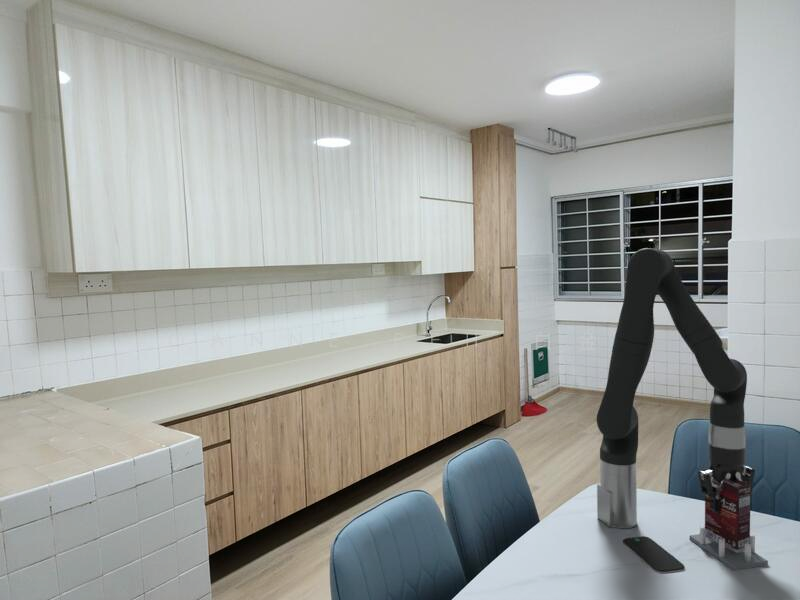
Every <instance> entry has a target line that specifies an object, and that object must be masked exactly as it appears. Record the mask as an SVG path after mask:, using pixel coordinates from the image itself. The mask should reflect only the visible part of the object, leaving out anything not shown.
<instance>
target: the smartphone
mask: <svg viewBox="0 0 800 600" xmlns="http://www.w3.org/2000/svg"><path fill="white" fill-rule="evenodd" d="M622 544H623V545H625V546H626V547H627V549H629V550H630V551H631V552H633V554H635V555H636V556H637V557H638V558H639V559H640V560H641V561H643V562H644V563H645V565H647V566H648V567H649V568H650V569H651V570H653V571H654V572H657V573H659V574H668V573H676V572H682V571H685V569H686V568H685V565H684V564H683V563H682V562H681V561H679V559H677V558H676V557H675V556H673V555H672V554H671V553H670V552H668V551H667V550H665V548H664V547H662V546H661V545H659V544H658V543H657V542H656V541H655V540H653V539H652V538H650V537H649V536H644V535H643V536H633V537H627V538H623V540H622Z"/></svg>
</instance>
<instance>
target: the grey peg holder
mask: <svg viewBox="0 0 800 600" xmlns="http://www.w3.org/2000/svg"><path fill="white" fill-rule="evenodd" d="M689 540H690V541H691V542H693V543H695V544H696V545H697V546H698V547H700V548H702V549H703V550H705V551H706V552H707V553H709V554H710V555H711V556H713V557H715V558H716V559H717V560H719V561H720V562H722V563H723V564H725V565H726V566H727V567H729V568H730V569H732V570H733V571H736V570H743V569H749V568H756V567H757V568H758V567H761V566H762V567H763V566H768V565H769V560H768V559H766V558H764V557H763V556H762V555H760V554H758V553H756V535H755V534H752V533H750V544H749V543H745V550H744V551H741V552H738V553H736V552H734V551H733V550H731V549H729V548H727V547H725V540H724V539H721V538H720V539H719V543H717V542H715V541H713V540H711V539H709V538H707V537H706V528H705V526H704V525H703V526H699V533H697V534H692V535H689Z"/></svg>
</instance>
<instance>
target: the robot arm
mask: <svg viewBox="0 0 800 600" xmlns="http://www.w3.org/2000/svg"><path fill="white" fill-rule="evenodd" d="M676 268H677V267H676V265H675V263H674V262H673V260H672V257H671V256H670V255H669V254H668V253H667V252H666V251H664V250H662V249H659V248H651V247H649V248H648V247H645V248H641V249H638V250H637V251H636V252H634V253H633V254H632V255H631V257H630V258H629V260H628V263H627V268H626V280H625V291H624V298H623V303H622V306H621V311H620V314H619V317H618V318H619V319H618V323H617V327H616V330H615V335H614V340H613V344H612V350H611V354H610V355H611V357H610V361H609V365H608V366H609V367H608V375H607V382H606V386H605V388H604V389H605V390H604V393H603V397H602V399H601V402H600V405H599V407H598V411H597V414H596V425H597V428H598V430H599V431H600V433H601V434H602V441H601V445H600V448H599V483H598V484H597V485H596V498H597V500H596V502H597V504H596V505H597V506H596V508H597V509H596V512H597V513H596V514H597V518H598V519H599V520H600V521H601V522H603V523H604V524H605V525H606V526H607V527H609V528H617V529H630V528H635V527H636V526H637V523H638V516H637V515H638V513H637V512H638V511H637V510H638V509H637V506H638V504H637V503H638V501H637V499H638V497H637V492H638V491H637V453H638V450H639V415H638V412H637V409H636V408H635V407H634V401H635V397H636V392H637V389H638V387H639V384H640V382H641V381H642V379H643V375H644V374H645V371H646V370H647V367H648V364H649V360H650V357H651V353H652V349H653V344H654V339H655V337H654V336H655V320H654V319H655V317H654V306H655V299H656V297H657V294H658V296H659V297H660V299H662V301H663V303H664V305H665V306H666V308H667V310H668V313H669V315H670V318H671V320H672V321H673V322H672V323H673V324H674V326H675V328H676V330H677V332H678V333H679V335H680V336H681V338H682V339H683V341H684V342H685V344H686V345H687V347H688V348H689V350H690V351H691V352H692V354H693V355H694V357H695V360H696V362H697V364H698V366H699V368H700V371H701V372H702V375H703V376H704V378H705V379H706V381H707V382H708V383H709V385H710V386H711V387H712V388H713V398H712V400H711V402H710V404H709V426H708V427H709V428H708V459H709V462H710V465H709V467H708V469H707V470H704V471H703V470H702V469H701V470H698V472H697V475H698V479H699V486H700V489H701V494H703V495H704V496H705V495H707V496H709V497H710V509H711V510H712V511H713V512H714V513H716V514H720V513H721V499H720V497H721V494H722V491H724V490H725V483H727V482H728V481H734V480H735V481H742V482H744V483H748V484H750V485H751V492H752V490H753V485H754V479H755V474H756V470H755V469H754V468H752V467H750V466H748V465H745V464H746V430H745V407H744V406H745V399H746V393H747V385H748V374H747V370H746V368H745V366H744V365H743V364H742V363H741V362H740V361H739V360H737V359H733V358H730V357H729V355H728V354H727V353H726V350H725V349H724V347H723V345H724V344H723V340H722V339H721V337H720V335H719V334H718V332H717V331H716V330H715V329H714V327H713V325H712V324H711V323H710V322H709V320H708V319H707V317H706V316H705V315H704V313H703V312H702V310H701V309H700V307H698V305H697V303H696V301H694V299H693V297H692V296H691V294H690V293H689V291H688V289H687V288H686V286H685V285H684V283H683V281H682V278H681V277H680V275H679V272H678V270H677V269H676ZM711 476H712V478H711ZM714 479H715V481H716V482H718V483H720V485H717V484H715V483H714V482H713V480H714ZM715 488H717V490H716V493H715Z"/></svg>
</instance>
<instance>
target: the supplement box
mask: <svg viewBox="0 0 800 600" xmlns="http://www.w3.org/2000/svg"><path fill="white" fill-rule="evenodd" d="M711 478H712V476H711ZM713 482H714V483H715V484H717V485H720V483H718V482H716V481H715V479H714V480H713ZM716 490H717V488H715V493H716ZM751 493H752V491H751V485H750V484H748V483H747V482H746V483H744V482H742V481H735V480H734V481H728V482H727V483H725V490H724V491H722V494H721V497H720V499H721V513H720V514H716V513H714V512H713V511H712V510H711V509H710V497H709V496H707V495H705V494H704V527H705V528H706V537H707V538H709V539H711V540H713V541H715V542H717V543H719V539H720V538H721V539H724V540H725V547H727V548H729V549H731V550H733V551H734V552H736V553H738V552H741V551H744V550H745V543H749V544H750V534H751V495H752V494H751Z"/></svg>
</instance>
